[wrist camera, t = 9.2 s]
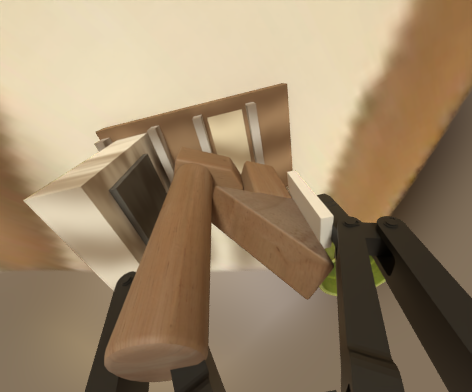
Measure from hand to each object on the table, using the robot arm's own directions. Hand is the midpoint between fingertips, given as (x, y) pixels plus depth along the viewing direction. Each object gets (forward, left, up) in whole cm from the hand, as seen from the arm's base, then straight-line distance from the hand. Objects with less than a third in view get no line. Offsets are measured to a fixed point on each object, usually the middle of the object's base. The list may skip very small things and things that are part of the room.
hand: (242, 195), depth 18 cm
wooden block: (0, -1, -6) cm, 6 cm away
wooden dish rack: (0, -4, -13) cm, 13 cm away
